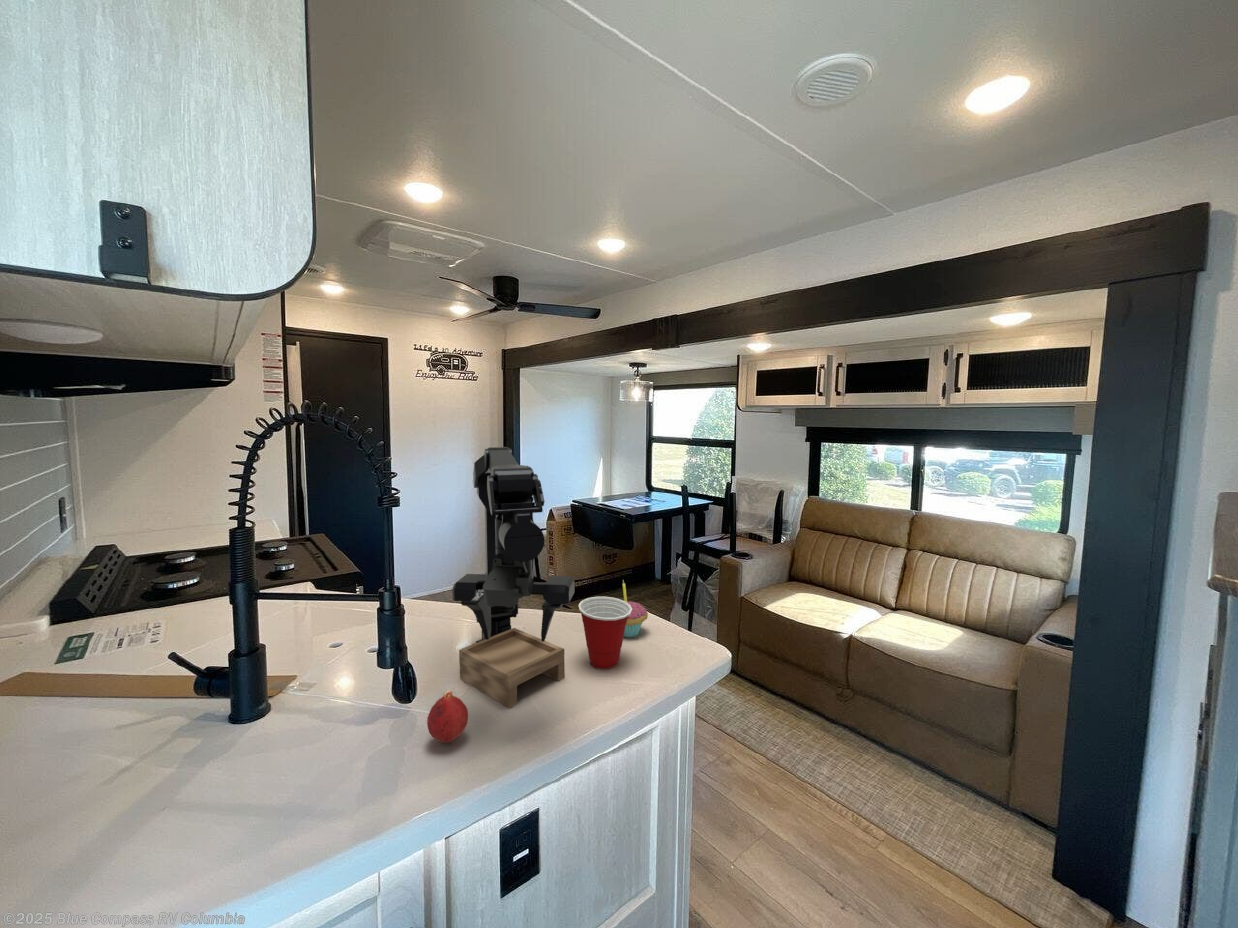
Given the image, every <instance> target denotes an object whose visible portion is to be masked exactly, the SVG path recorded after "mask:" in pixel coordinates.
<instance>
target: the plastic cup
mask: <svg viewBox="0 0 1238 928" xmlns="http://www.w3.org/2000/svg"><path fill="white" fill-rule="evenodd" d="M578 608H579V609H578V610H579V612H580V614H581V615H580V616H581V618H582V624H583V630H584V637H585V643H586V647H587V652H588V657H589V658H588V659H589V662H590V665H592V667H593V668H596V669H602V670H606V669H612V668H615V667H616V666H617V665H618V663H619V660H620V657H621V650H622V646H623V642H624V638H625V637H624V631H625V626H626V622H627V619H628V616H629V615H630V613H631V611H632V608H631V606H630V604H628V603H627V602H625V601H624V599H623V600H622V599H620V598H617V597H611V596H610V597H609V596H593V597H587V598H585V599H582V600H581V601H580V602H579V604H578Z"/></svg>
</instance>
